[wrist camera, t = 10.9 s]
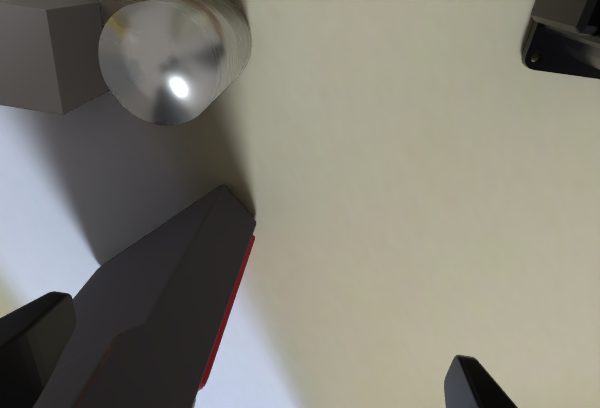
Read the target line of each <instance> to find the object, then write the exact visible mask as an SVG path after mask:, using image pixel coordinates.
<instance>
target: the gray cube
mask: <svg viewBox="0 0 600 408" xmlns="http://www.w3.org/2000/svg"><path fill="white" fill-rule="evenodd" d="M102 30H103V28H102V18H101V9H100V2H96V1H89V0H0V105H4V106H11V107H17V108H24V109H30V110H36V111H43V112H49V113H56V114H62V115H63V114H65V113H67V112H69V111H71V110H73V109H75V108H77V107H78V106H80V105H82V104H84V103H86V102H88V101H90V100H92V99H94V98H96V97H98V96H99V95H101V94H103V93H105V92H107V91H109V88H108V86H107V84H106V82H105V80H104V78H103V75H102V72H101V69H100V64H99V56H98V48H99V40H100V36H101V33H102Z"/></svg>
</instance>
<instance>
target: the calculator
mask: <svg viewBox="0 0 600 408" xmlns="http://www.w3.org/2000/svg"><path fill="white" fill-rule="evenodd" d="M255 226H256V221H255V220H254V219H253V217H252V216H251V215H250V214H249V213H248V212H247V210H246V209H245V208H244V207H243V206H242V205H241V204H240V203H239V201H238V200H237V199H236V198H235V197H234V196H233V195H232V193H231V192H230V191H229V190H228V189H227V188H226V187H225V186H224V185H220V186H219V187H217V188H215V189H214V190H213V191H211V192H210V193H208V194H207V195H205V196H204V197H202V198H201V199H199V200H198V201H196V202H195V203H193V204H192V205H190V206H189V207H187V208H186V209H185V210H183V211H182V212H180V213H179V214H177V215H176V216H174V217H173V218H171V219H170V220H168V221H167V222H165V223H164V224H162V225H161V226H159V227H158V228H157V229H155V230H154V231H152V232H151V233H149V234H148V235H146V236H145V237H143V238H142V239H140V240H139V241H137V242H136V243H134V244H133V245H131V246H130V247H129V248H127V249H126V250H124V251H123V252H121V253H120V254H118V255H117V256H115V257H114V258H112V259H111V260H109V261H108V262H106V263H105V264H103V265H102V266H101V267H100V268H98V269H97V270H96V272H95V273H94V274H93V275H92V277H91V278H90V279H89V280H88V281H87V283H86V284H85V285H84V286H83V288H82V289H81V290H80V291H79V292H78V294H77V295H76V296H75V297H74V298H73V304H74V309H75V313H76V319H77V320H76V326H75V329H74V331H73V333H72V335H71V337H70V339H69V341H68V343H67V345H66V347H65V349H64V351H63V353H62V355H61V357H60V359H59V361H58V363H57V365H56V367H55V369H54V371H53V373H52V375H51V377H50V379H49V381H48V383H47V384H46V386H45V388H44V390H43V392H42V393H41V395H40V397H39V398H38V400H37V402H36V403H35V405H34V406H33V408H194V406H195V401H196V399H195V398H196V395H197V392H198V391H199V390H200V389H202V388H203V387H204V386H205V384H206V382H207V380H208V377H209V375H210V372H211V369H212V366H213V363H214V360H215V357H216V354H217V351H218V348H219V345H220V342H221V339H222V336H223V333H224V330H225V327H226V324H227V321H228V318H229V315H230V312H231V309H232V306H233V303H234V300H235V297H236V294H237V291H238V288H239V285H240V282H241V279H242V276H243V273H244V270H245V267H246V264H247V261H248V258H249V255H250V252H251V249H252V246H253V243H254V240H255V236H254V235H253V232H254V229H255Z"/></svg>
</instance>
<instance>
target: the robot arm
mask: <svg viewBox="0 0 600 408" xmlns="http://www.w3.org/2000/svg"><path fill="white" fill-rule="evenodd" d="M531 15H532V17H533V20H534V24H533V26H532V29H531V32H530V35H529V37H528V40H527V43H526V45H525V48H524V51H523V54H522V63H523V64H524V65H525V66H526V67H528V68H530V69H532V70H539V71H546V72H553V73H560V74H568V75H575V76H582V77H589V78H597V79H600V0H536V2H535V4H534V7H533V10H532V13H531ZM538 51H539V52H540V57H539V59H538V60H537V61H535V62H532V61H531V57H532V55H533V54H534V53H535V52H538ZM76 320H77V319H76V313H75V309H74V304H73V299H72V296H71V295H70V294H68V293H62V292H55V291H54V292H49V293H47V294H45V295H43V296H41V297H40V298H38V299H36V300H34V301H32V302H30V303H28V304H26V305H24V306H22V307H20V308H19V309H17V310H15V311H13V312H11V313H9V314H7V315H5V316H3V317H1V318H0V408H33V406H34V405H35V403H36V402H37V400H38V398H39V397H40V395H41V393H42V392H43V390H44V388H45V386H46V384H47V383H48V381H49V379H50V377H51V375H52V373H53V371H54V369H55V367H56V365H57V363H58V361H59V359H60V357H61V355H62V353H63V351H64V349H65V347H66V345H67V343H68V341H69V339H70V337H71V335H72V333H73V331H74V329H75V326H76ZM444 391H445V403H446V408H518V407H517V406H516V405H515V404H514V403H513V401H512V400H511V399H510V398H509V397H508V396H507V394H506V393H505V392H504V391H503V390H502V389H501V387H500V386H499V385H498V384H497V383H496V381H495V380H494V379H493V378H492V377H491V376H490V374H489V373H488V372H487V371H486V370H485V369H484V367H483V366H482V365H481V364H480V363H479V361H478V360H477V359H475V358H474V357H470V356H464V355H456V356H455V357H454V359H453V361H452V363H451V366H450V368H449V370H448V372H447V375H446V377H445V381H444Z"/></svg>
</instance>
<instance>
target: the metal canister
mask: <svg viewBox="0 0 600 408" xmlns="http://www.w3.org/2000/svg"><path fill="white" fill-rule="evenodd" d="M251 48H252V39H251V33H250V29H249V26H248V23H247V21H246V19H245V17H244V15H243V14H242V12H241V11H240V10H239V9H238V7H237V6H236V5H235V4H233V3H232V2H231V1H230V0H148V1H142V2H137V3H133V4H129V5H127V6H125V7H122V8H121V9H119V10H118V11H116V12H115V13H114V14H113V15H112V16H111V17H110V18H109V20H108V21H107V22H106V24H105V26H104V28H103V30H102V33H101V36H100V40H99V48H98V56H99V64H100V69H101V72H102V75H103V78H104V80H105V82H106V84H107V86H108V88H109V90H110V91H111V93H112V94H113V96H114V97H115V98H116V99H117V101H118V102H119V103H120V104H121V105H122V106H123V107H124V108H125V109H127V110H128V111H129V112H131V113H132V114H133V115H135V116H137V117H138V118H140V119H142V120H144V121H147V122H150V123H153V124H157V125H165V126H172V125H179V124H183V123H186V122H189V121H191V120H193V119H194V118H196V117H197V116H198V115H200V114H201V113H202V112H203V111H204V110H205V109H206V108H207V107H208V106H209V105H210V104H211V103H212V102H213V101H214V100H215V99H216V98H217V97H218V96H219V95H220V93H221V92H222V91H223V90H224V89H225V88H226V87H227V86H228V85H229V84H230V83H231V82H232V81H233V80H234V79H235V78H236V77H237V76H238V75H239V74H240V73H241V72H242V71H243V70H244V68H245V67H246V65H247V63H248V61H249V58H250V54H251Z"/></svg>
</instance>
